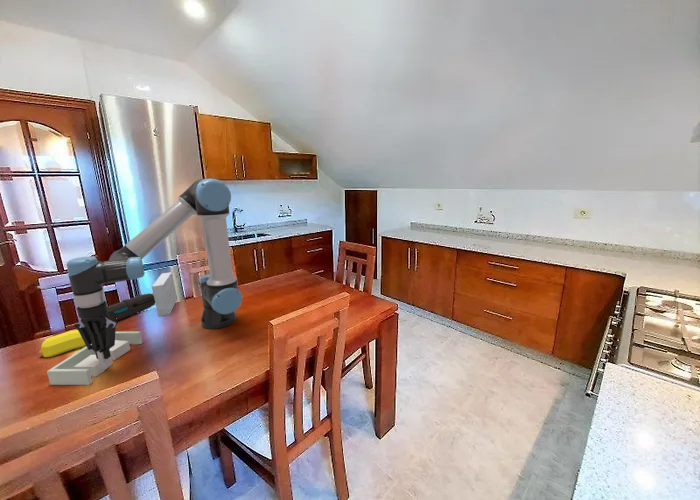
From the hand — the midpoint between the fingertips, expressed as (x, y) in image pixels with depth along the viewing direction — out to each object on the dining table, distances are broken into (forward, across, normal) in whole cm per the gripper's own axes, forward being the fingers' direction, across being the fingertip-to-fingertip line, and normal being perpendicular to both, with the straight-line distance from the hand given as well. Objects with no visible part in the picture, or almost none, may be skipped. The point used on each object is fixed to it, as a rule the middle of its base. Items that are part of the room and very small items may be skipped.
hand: (105, 366), depth 104 cm
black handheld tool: (+2, +24, -42) cm, 48 cm away
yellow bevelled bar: (+2, +25, -14) cm, 29 cm away
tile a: (+2, +5, -10) cm, 11 cm away
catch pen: (+2, +6, -5) cm, 8 cm away
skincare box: (+2, +10, -52) cm, 53 cm away
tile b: (+2, +4, 0) cm, 5 cm away
